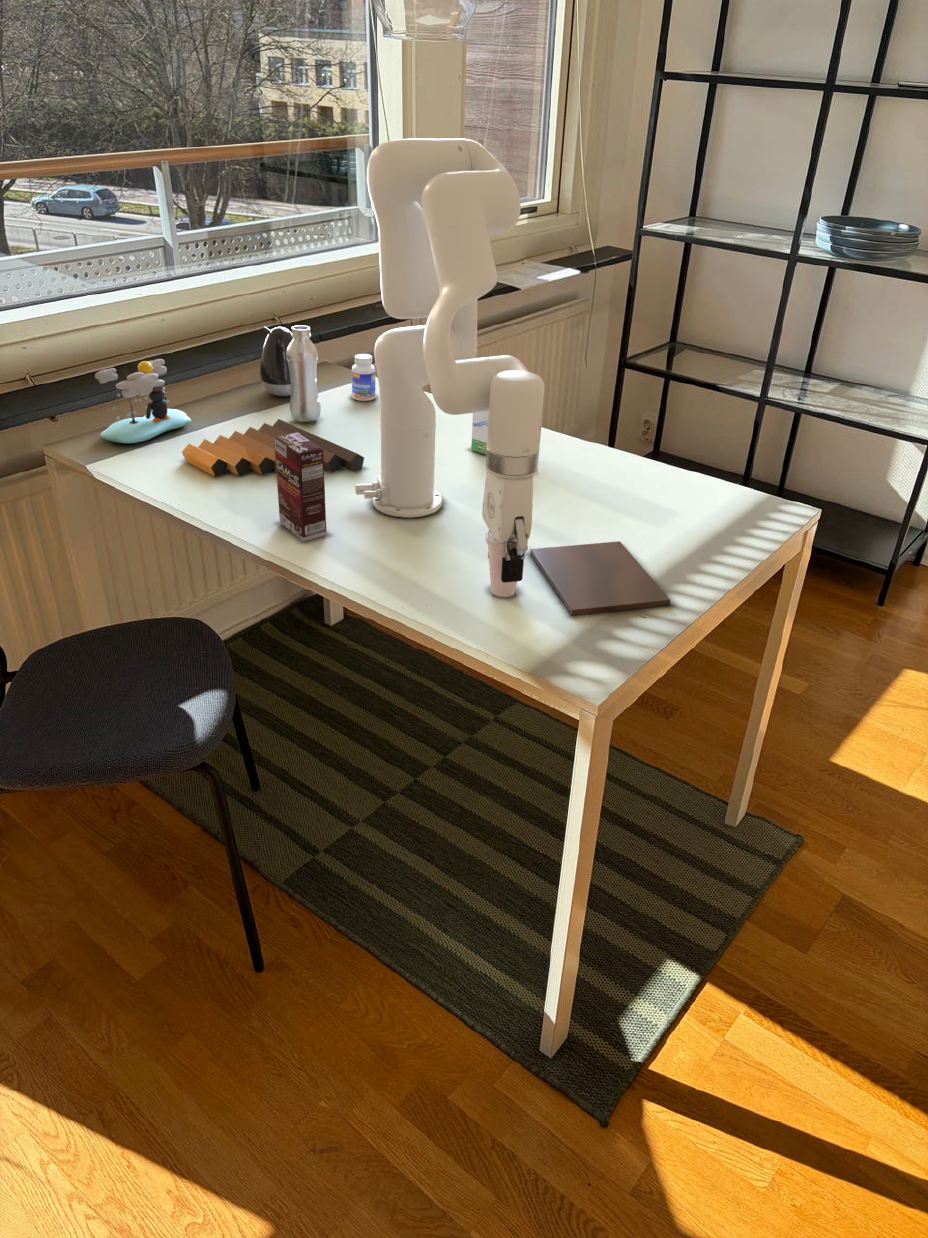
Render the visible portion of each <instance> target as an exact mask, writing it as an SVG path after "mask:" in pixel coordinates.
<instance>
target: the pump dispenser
mask: <svg viewBox="0 0 928 1238" xmlns="http://www.w3.org/2000/svg"><path fill="white" fill-rule="evenodd" d="M261 331H262V332H263V333H264V334H265V335H266V338H265V341H264V344H263V348H262V352H261V357H260V366H259V379H260V381H261V382H262V385H263V388H265V390H266V391H267V392H268V393H270V394H271V395H273V396H276V397H291V378H290V371H289V366H288V361H287V356H286V351H287V348H288V346H289V344H290V343H291V341H292V340H293V337H292V331H290V330H289V329H288V328H286V327H283V326H277V327H274V328H271V329H269V328H268V327H266V326H263V327H262V328H261Z"/></svg>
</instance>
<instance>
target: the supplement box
mask: <svg viewBox="0 0 928 1238" xmlns="http://www.w3.org/2000/svg"><path fill="white" fill-rule="evenodd" d="M274 445H275V459H276V469H275V471H276V473H275V474H276V483H277V484H276V485H277V486H276V487H277V488H276V489H277V500H278V502H277V503H278V516H279V524H280V525H282V526H283V527H284V528H286V529H287V530H289V531H290V532H291V533H293V535H295V536H296V537H297V538H298V539H300V540H301V541H302V542H303V543H304V542H307V541H311V540H315V539H318V538H322V537H325V536H327V533H328V532H327V515H326V514H327V513H326V512H327V511H326V489H325V487H326V486H325V485H326V484H325V469H324V458H323V449H322V448H321V447H318V446H317V445H315V444H314V443H312V442H311V441H309V440H308V439H306V438H305V437H303V436H302V435H300V434H299V433H298V432H296V433H291V434H286V435H282V436H278V437H275V438H274Z"/></svg>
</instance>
